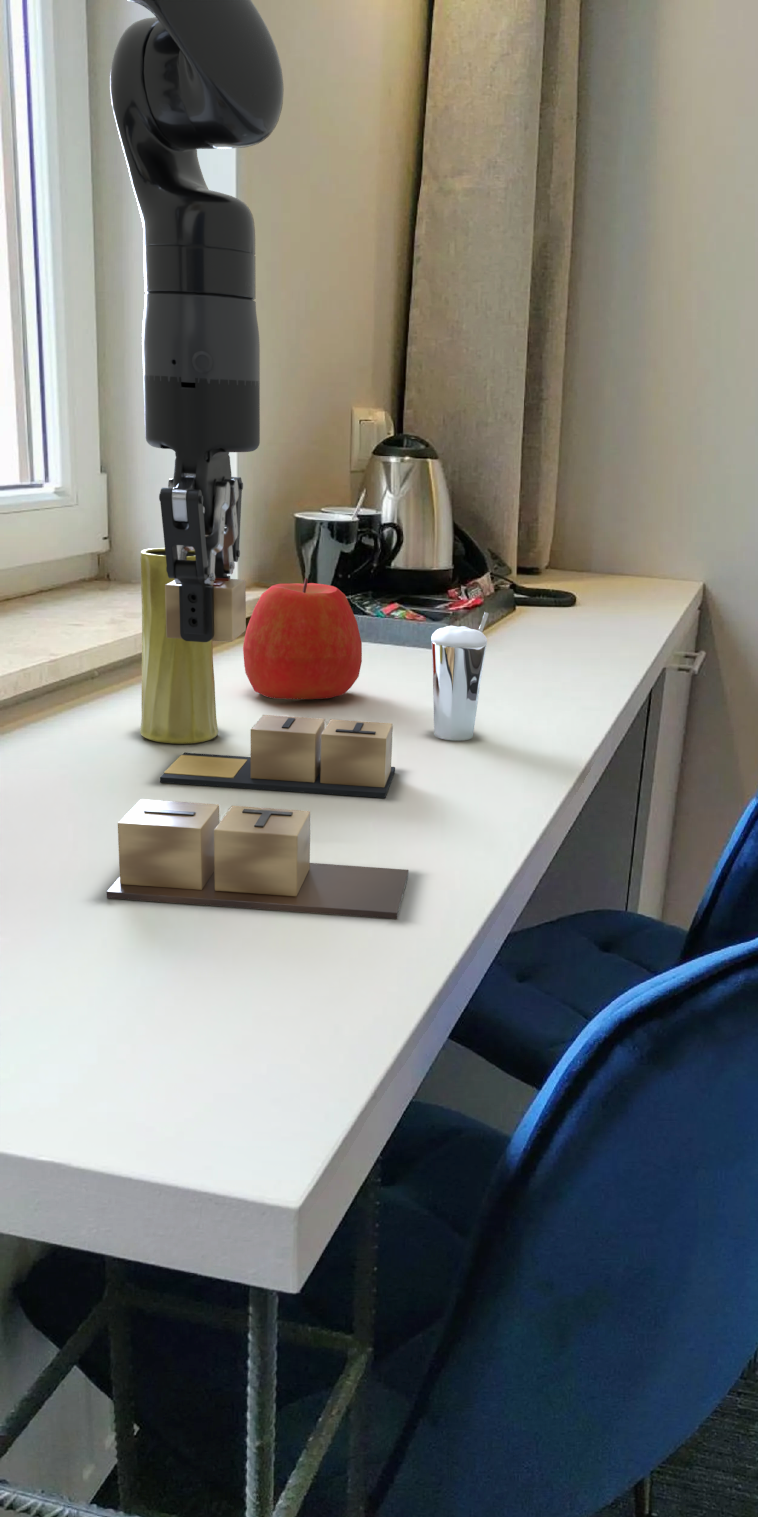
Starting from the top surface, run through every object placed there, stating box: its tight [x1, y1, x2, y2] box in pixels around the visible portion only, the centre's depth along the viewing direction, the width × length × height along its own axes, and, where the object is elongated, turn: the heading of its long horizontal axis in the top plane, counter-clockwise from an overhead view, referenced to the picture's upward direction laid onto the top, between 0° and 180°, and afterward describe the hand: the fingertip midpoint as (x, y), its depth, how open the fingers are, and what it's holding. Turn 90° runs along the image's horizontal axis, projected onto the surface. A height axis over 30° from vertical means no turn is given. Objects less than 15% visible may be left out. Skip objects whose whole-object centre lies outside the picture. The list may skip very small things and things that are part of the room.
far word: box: [159, 714, 396, 799], centre depth 96 cm, size 16×7×4 cm, turn 87°
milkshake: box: [430, 611, 490, 742], centre depth 110 cm, size 4×5×10 cm
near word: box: [106, 798, 410, 920], centre depth 75 cm, size 16×7×4 cm, turn 87°
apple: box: [242, 577, 363, 701], centre depth 120 cm, size 11×11×11 cm
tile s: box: [165, 578, 247, 643], centre depth 93 cm, size 5×5×4 cm
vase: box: [139, 547, 219, 745], centre depth 104 cm, size 6×6×14 cm
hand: (206, 633), depth 93 cm, fingers closed on tile s, 4 cm apart
